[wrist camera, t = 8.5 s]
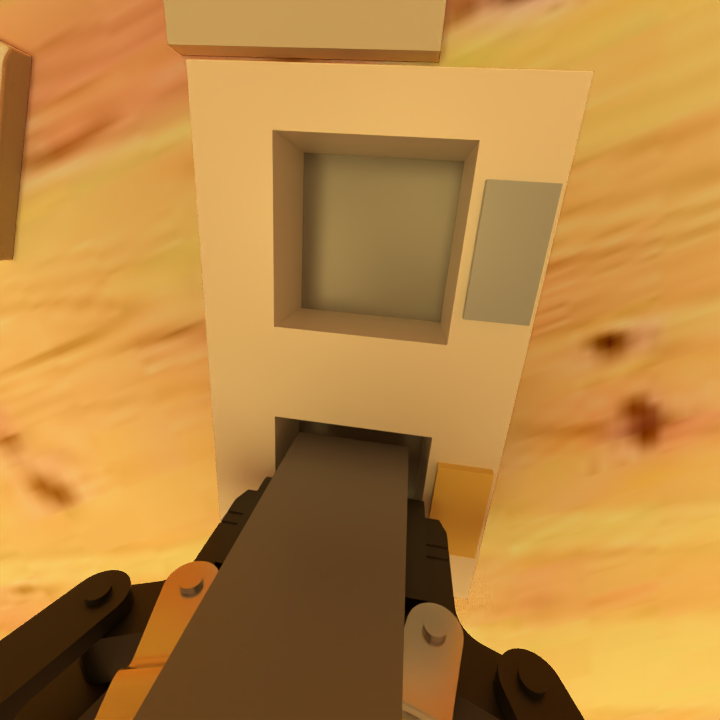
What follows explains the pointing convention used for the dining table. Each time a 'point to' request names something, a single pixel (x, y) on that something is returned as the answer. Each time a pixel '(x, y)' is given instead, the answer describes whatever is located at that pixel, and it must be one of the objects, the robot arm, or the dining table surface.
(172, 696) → the plug
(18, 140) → the external hard drive
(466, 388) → the socket block
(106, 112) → the dining table surface
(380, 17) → the mat
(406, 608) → the robot arm
